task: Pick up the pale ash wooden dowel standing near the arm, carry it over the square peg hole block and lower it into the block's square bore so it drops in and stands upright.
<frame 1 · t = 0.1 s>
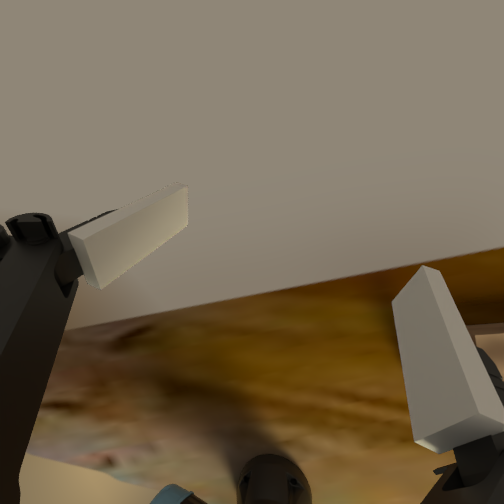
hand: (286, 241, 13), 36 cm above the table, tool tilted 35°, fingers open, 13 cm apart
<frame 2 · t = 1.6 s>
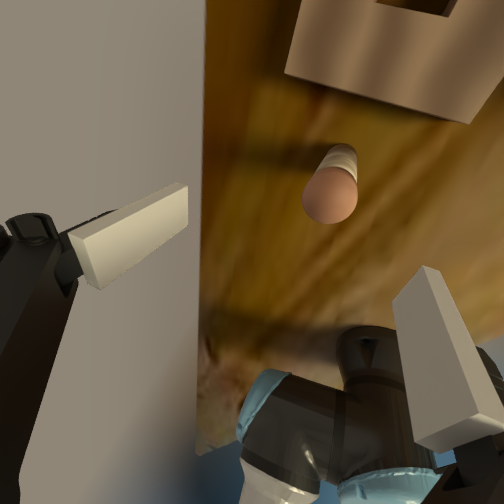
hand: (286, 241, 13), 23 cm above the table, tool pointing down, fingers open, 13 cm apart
dowel: (340, 160, 30), on the table
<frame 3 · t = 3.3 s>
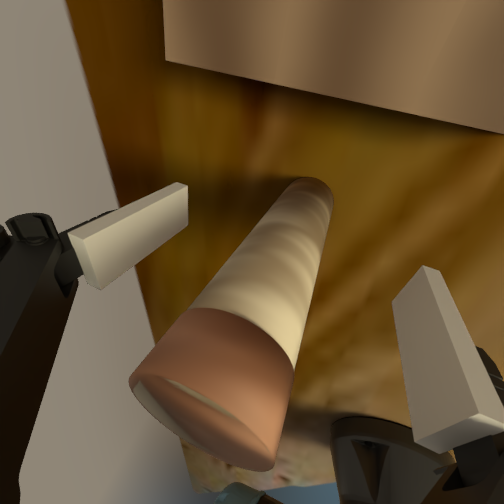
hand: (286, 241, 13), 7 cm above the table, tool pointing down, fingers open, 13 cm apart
dowel: (307, 202, 18), on the table
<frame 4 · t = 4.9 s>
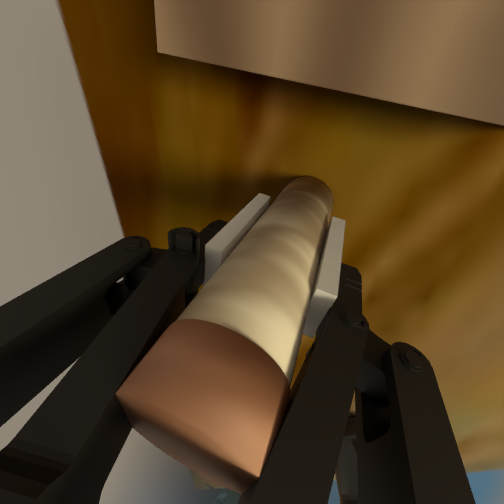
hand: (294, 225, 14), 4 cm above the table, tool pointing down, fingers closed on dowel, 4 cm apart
dowel: (305, 202, 18), on the table, touching gripper
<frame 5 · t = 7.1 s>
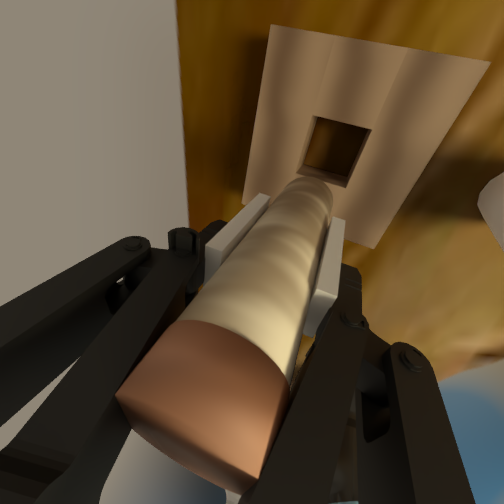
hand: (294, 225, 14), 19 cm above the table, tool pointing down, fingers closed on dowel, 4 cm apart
square peg hole block: (333, 146, 28), on the table
dowel: (305, 202, 18), point 15 cm above the table, touching gripper
when the fingers open (7 cm above the table, at t = 9.4 s): dowel drops 2 cm, resting in square peg hole block.
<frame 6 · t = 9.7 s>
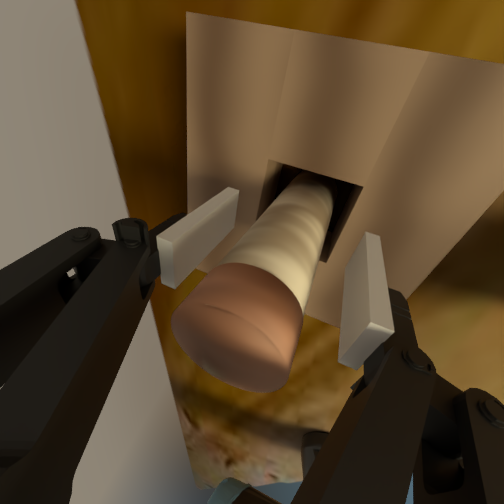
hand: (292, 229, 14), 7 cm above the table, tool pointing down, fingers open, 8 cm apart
square peg hole block: (311, 192, 19), on the table
dowel: (312, 192, 19), resting in square peg hole block
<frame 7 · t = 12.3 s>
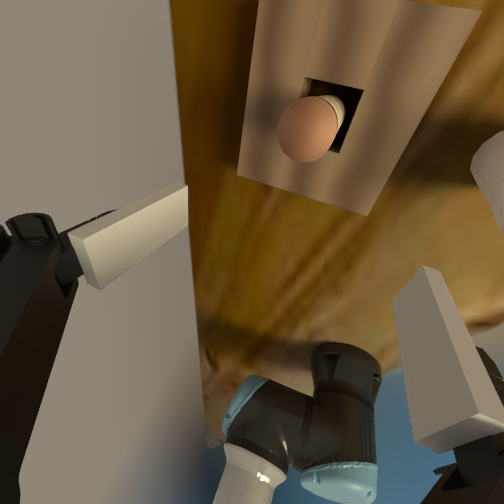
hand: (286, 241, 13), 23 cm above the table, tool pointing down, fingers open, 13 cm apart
square peg hole block: (327, 113, 28), on the table
dowel: (328, 113, 28), resting in square peg hole block
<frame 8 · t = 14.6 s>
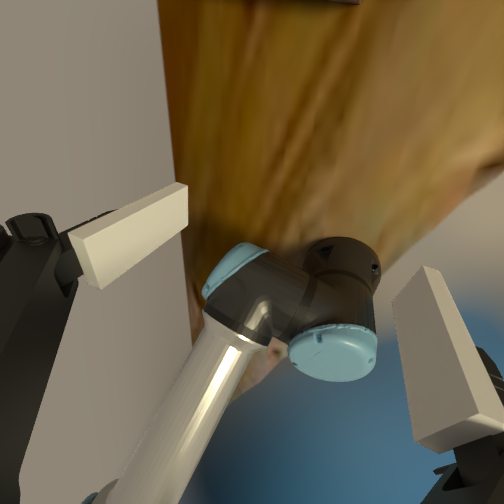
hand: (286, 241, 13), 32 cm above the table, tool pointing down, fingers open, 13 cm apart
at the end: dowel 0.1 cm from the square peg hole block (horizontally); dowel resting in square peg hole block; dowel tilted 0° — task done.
